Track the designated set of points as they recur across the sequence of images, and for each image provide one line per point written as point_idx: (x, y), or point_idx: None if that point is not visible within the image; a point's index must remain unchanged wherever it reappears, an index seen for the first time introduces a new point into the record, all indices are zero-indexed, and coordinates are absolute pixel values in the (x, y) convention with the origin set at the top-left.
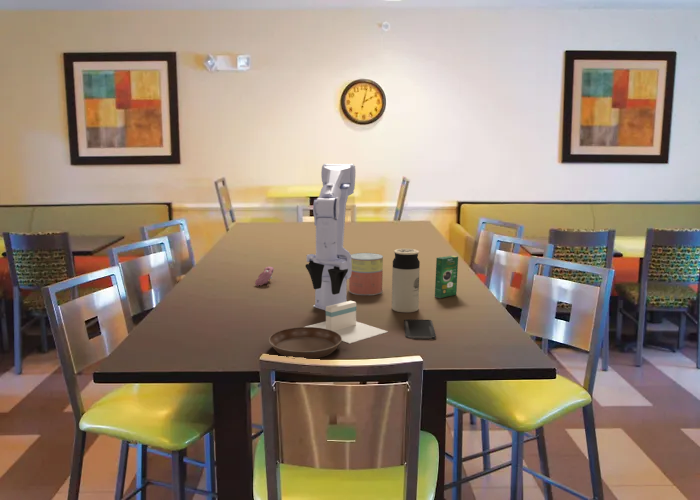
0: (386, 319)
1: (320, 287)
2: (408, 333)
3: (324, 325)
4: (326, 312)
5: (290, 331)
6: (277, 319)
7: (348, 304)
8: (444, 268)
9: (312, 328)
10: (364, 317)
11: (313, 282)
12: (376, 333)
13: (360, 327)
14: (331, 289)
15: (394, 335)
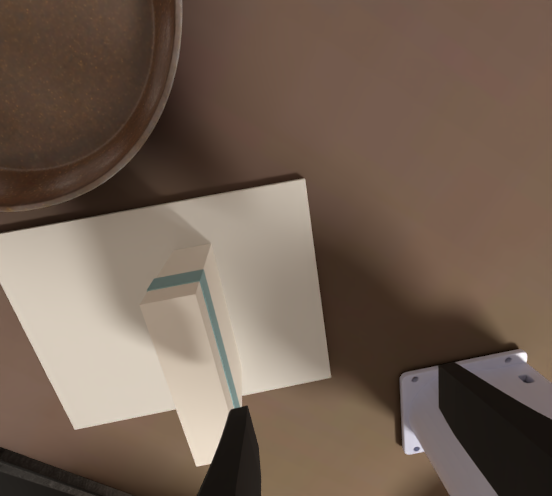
0: None
1: (442, 409)
2: (13, 471)
3: (270, 267)
4: (192, 277)
5: (172, 5)
6: (495, 135)
7: (181, 420)
8: None
9: (138, 140)
10: (291, 437)
11: (485, 396)
12: (66, 386)
13: None
14: (245, 432)
15: (40, 429)
